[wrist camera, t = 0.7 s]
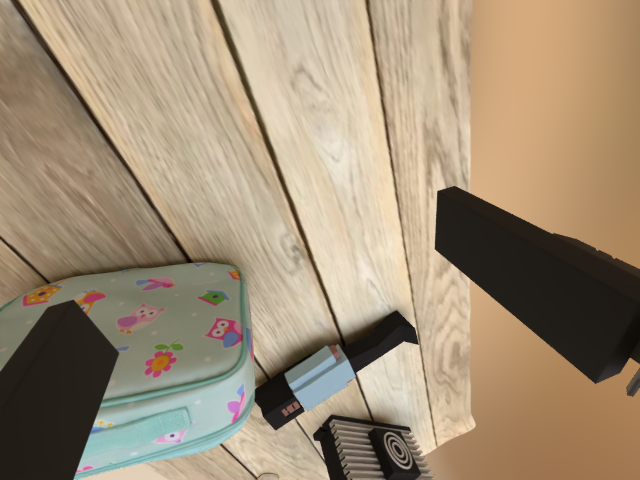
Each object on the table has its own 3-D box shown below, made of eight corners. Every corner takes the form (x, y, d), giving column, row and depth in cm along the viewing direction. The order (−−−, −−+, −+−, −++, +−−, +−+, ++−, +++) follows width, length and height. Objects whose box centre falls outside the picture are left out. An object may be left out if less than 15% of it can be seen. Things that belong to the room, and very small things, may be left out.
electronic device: (416, 420, 80) (468, 512, 63) (391, 444, 82) (433, 539, 66) (339, 406, 66) (378, 519, 49) (311, 436, 69) (340, 552, 52)
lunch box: (43, 340, 39) (-111, 567, 21) (5, 276, 34) (-237, 502, 16) (249, 307, 46) (266, 457, 28) (243, 250, 41) (259, 388, 23)
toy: (420, 352, 56) (279, 449, 50) (395, 326, 62) (267, 408, 56) (412, 319, 50) (253, 422, 45) (386, 293, 56) (243, 381, 51)
